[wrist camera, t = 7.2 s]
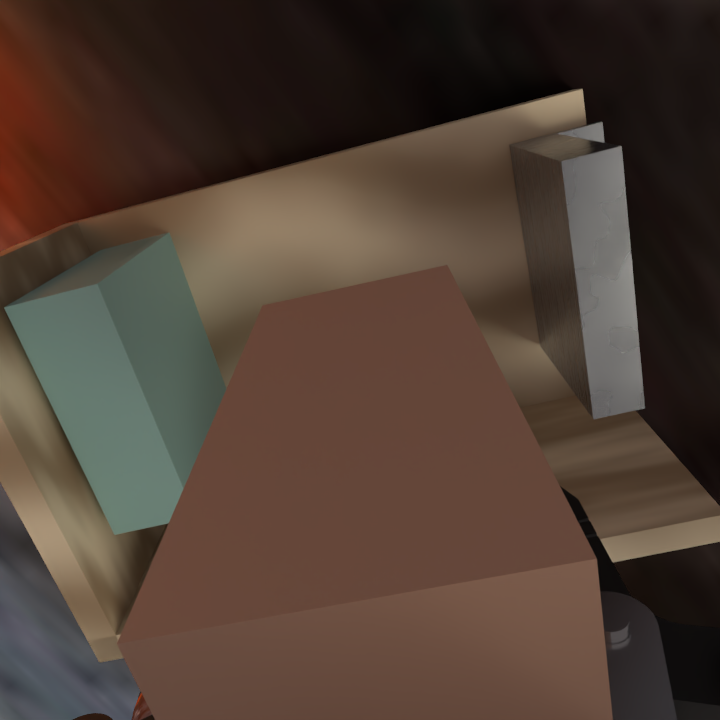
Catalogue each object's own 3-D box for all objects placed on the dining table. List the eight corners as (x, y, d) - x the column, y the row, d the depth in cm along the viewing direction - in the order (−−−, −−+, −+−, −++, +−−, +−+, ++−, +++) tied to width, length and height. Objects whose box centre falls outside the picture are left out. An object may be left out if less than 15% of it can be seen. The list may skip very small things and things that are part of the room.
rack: (608, 396, 35) (727, 540, 24) (178, 490, 37) (99, 662, 26) (574, 89, 29) (710, 84, 18) (64, 223, 31) (-102, 295, 20)
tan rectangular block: (447, 265, 13) (596, 558, 5) (504, 591, 17) (648, 1083, 8) (262, 305, 14) (116, 642, 5) (356, 617, 17) (355, 1114, 9)
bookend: (619, 327, 32) (697, 397, 25) (539, 345, 32) (593, 419, 25) (598, 121, 28) (683, 130, 21) (508, 144, 29) (561, 161, 21)
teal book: (235, 414, 34) (195, 517, 26) (173, 428, 34) (114, 534, 26) (169, 232, 30) (97, 283, 22) (100, 250, 31) (3, 307, 22)
